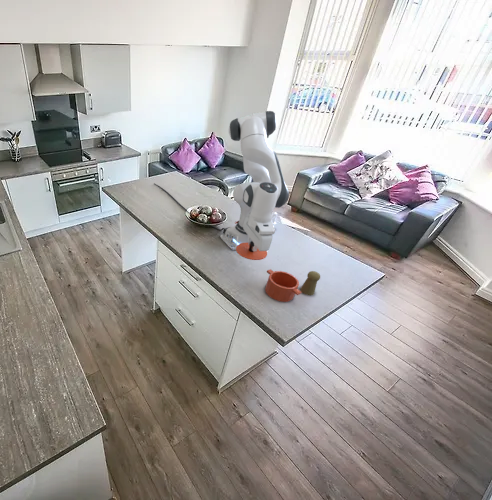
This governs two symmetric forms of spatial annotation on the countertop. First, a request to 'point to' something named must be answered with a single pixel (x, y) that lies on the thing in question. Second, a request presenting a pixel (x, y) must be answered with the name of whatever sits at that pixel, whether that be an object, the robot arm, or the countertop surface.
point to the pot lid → (250, 252)
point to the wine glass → (274, 218)
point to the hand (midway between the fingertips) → (252, 248)
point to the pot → (282, 286)
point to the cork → (310, 283)
